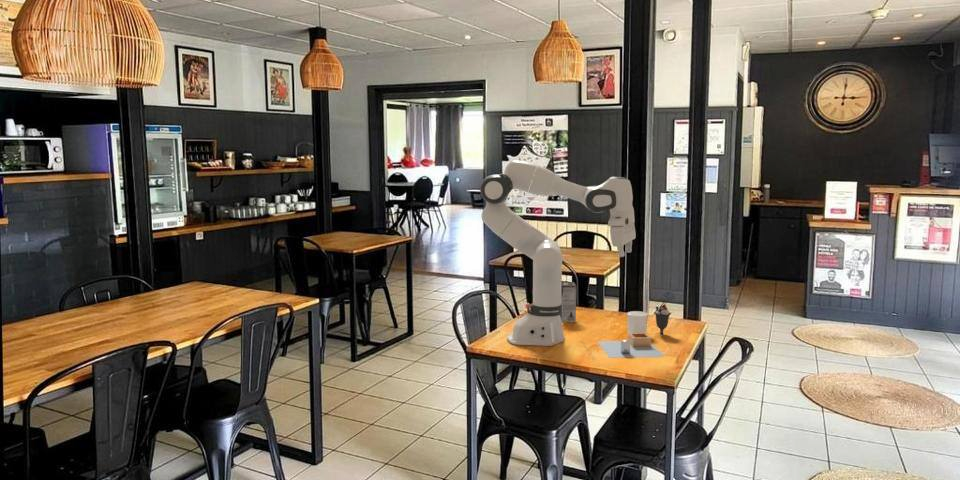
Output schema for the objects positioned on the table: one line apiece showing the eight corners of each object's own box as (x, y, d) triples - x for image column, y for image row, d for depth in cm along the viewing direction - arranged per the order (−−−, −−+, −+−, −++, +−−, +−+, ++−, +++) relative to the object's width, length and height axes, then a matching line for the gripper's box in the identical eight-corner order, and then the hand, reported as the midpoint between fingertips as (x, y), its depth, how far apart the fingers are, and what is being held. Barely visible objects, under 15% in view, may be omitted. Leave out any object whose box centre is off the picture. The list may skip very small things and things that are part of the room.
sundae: (671, 340, 259) (672, 302, 257) (653, 339, 260) (654, 302, 258) (669, 335, 265) (671, 299, 263) (652, 335, 267) (653, 298, 265)
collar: (633, 347, 245) (633, 338, 244) (628, 342, 251) (628, 333, 251) (651, 347, 245) (651, 337, 244) (645, 341, 252) (646, 332, 251)
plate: (609, 361, 233) (609, 357, 232) (596, 345, 252) (596, 341, 252) (665, 360, 234) (665, 356, 233) (648, 344, 253) (648, 340, 253)
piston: (622, 354, 236) (622, 342, 236) (619, 351, 239) (620, 339, 239) (631, 354, 236) (631, 341, 236) (628, 351, 239) (629, 339, 239)
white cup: (622, 336, 264) (623, 312, 263) (638, 334, 267) (639, 310, 266) (634, 341, 257) (635, 316, 256) (651, 339, 260) (652, 314, 259)
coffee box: (559, 316, 297) (559, 281, 294) (573, 316, 296) (574, 281, 294) (561, 322, 287) (562, 285, 285) (576, 322, 287) (577, 285, 285)
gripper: (622, 215, 263) (625, 250, 264) (606, 222, 245) (609, 259, 247) (638, 215, 260) (640, 249, 261) (623, 221, 242) (626, 258, 244)
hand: (625, 254), depth 254 cm, fingers open, 8 cm apart
